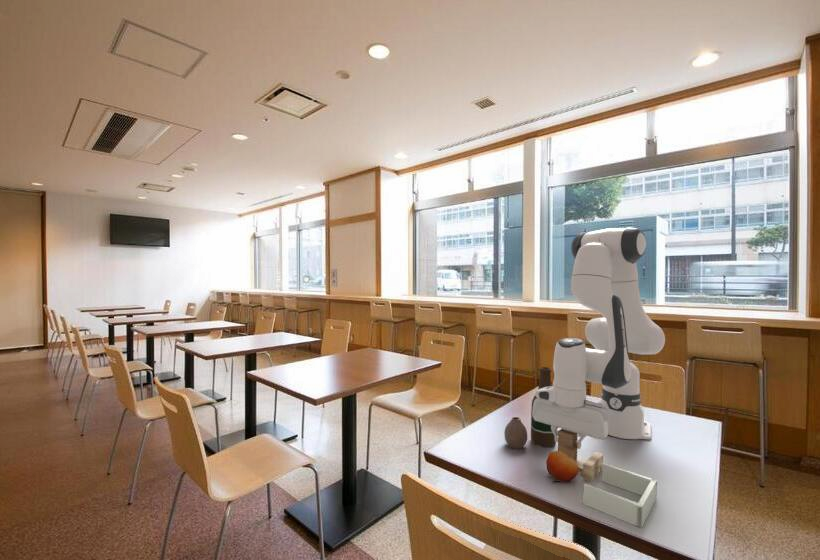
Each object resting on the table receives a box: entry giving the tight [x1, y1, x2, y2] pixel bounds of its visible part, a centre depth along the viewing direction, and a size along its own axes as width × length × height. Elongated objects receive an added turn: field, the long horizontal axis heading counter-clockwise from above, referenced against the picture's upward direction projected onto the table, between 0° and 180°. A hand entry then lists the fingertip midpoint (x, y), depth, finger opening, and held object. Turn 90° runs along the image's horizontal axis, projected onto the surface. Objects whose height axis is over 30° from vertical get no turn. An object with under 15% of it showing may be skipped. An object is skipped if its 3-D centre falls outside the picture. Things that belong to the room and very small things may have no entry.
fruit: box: [545, 450, 579, 484], centre depth 101 cm, size 8×8×8 cm
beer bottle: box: [530, 366, 557, 448], centre depth 122 cm, size 8×8×24 cm
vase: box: [504, 416, 528, 449], centre depth 119 cm, size 7×7×9 cm
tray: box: [582, 462, 658, 528], centre depth 91 cm, size 15×12×4 cm
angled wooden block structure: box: [557, 428, 604, 483], centre depth 106 cm, size 10×10×10 cm
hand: (567, 444), depth 109 cm, fingers closed on angled wooden block structure, 4 cm apart
